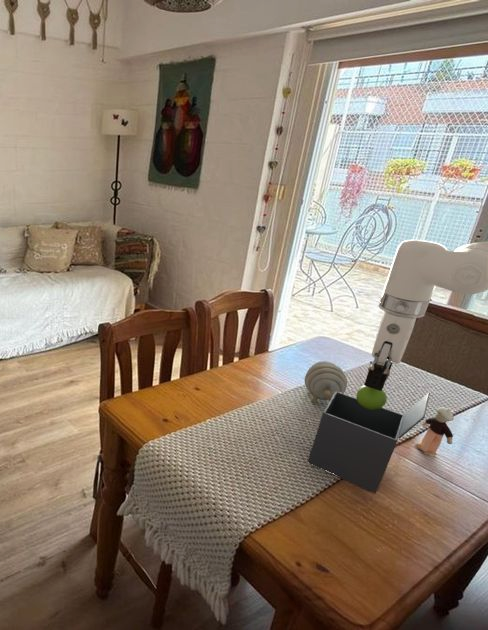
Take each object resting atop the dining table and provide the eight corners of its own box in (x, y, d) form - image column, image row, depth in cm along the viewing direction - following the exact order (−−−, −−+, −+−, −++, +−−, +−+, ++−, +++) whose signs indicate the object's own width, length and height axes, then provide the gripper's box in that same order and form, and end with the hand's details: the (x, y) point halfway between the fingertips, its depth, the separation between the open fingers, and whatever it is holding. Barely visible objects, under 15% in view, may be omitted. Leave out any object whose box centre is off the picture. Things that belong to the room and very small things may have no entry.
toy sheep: (335, 387, 133) (345, 355, 129) (347, 419, 119) (359, 385, 114) (297, 381, 136) (305, 349, 132) (304, 411, 122) (314, 377, 117)
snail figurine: (344, 403, 98) (360, 356, 93) (364, 398, 100) (381, 352, 95) (367, 417, 93) (384, 368, 88) (388, 412, 95) (406, 363, 90)
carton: (384, 465, 103) (405, 415, 97) (375, 494, 95) (397, 440, 89) (320, 439, 111) (335, 391, 105) (307, 463, 103) (322, 412, 97)
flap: (405, 412, 97) (406, 413, 97) (397, 437, 89) (399, 438, 89) (428, 392, 93) (430, 393, 93) (422, 416, 85) (424, 417, 85)
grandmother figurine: (406, 443, 110) (424, 401, 105) (417, 440, 111) (435, 398, 106) (438, 464, 104) (458, 420, 99) (449, 461, 105) (470, 417, 100)
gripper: (422, 322, 78) (390, 406, 86) (430, 297, 90) (402, 373, 97) (373, 310, 83) (346, 391, 90) (387, 288, 95) (363, 361, 102)
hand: (375, 381), depth 94 cm, fingers closed on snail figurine, 5 cm apart
